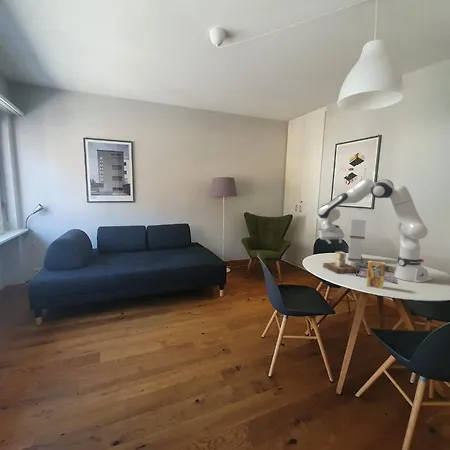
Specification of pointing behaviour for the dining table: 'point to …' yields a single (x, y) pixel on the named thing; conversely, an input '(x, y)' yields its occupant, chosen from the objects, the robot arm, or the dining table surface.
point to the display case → (356, 239)
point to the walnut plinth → (339, 268)
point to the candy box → (375, 274)
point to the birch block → (340, 259)
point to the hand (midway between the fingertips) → (335, 243)
